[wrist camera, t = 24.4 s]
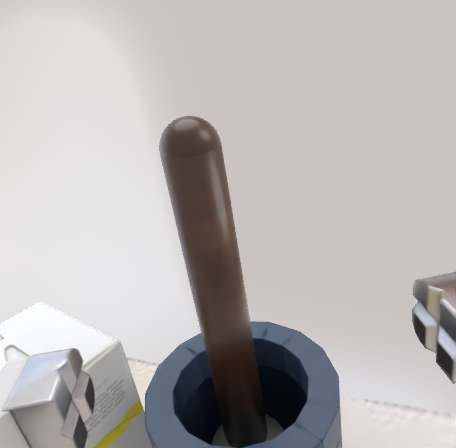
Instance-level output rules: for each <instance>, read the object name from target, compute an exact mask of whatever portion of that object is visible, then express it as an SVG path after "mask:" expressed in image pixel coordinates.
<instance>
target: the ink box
mask: <svg viewBox="0 0 456 448" xmlns="http://www.w3.org/2000/svg"><path fill="white" fill-rule="evenodd" d="M70 348H76V349H78V350H79V352H80V354H81V356H82V358H83V360H84V361H83V364H82V367H81V370H83V371H85V372H86V373H88V374H90V377H91V379H92V382H93V386H94V391H95V406H94V410H93V415H92V417H91V418H90V419H89V420H88V421H87V422H86V423H85V424H84V425H85V427H86V429H87V431H88V435H87V439H86V443H85V447H84V448H152V445H151V442H150V440H149V437H148V434H147V431H146V428H145V413H144V410H143V407H142V404H141V401H140V398H139V395H138V392H137V389H136V386H135V383H134V380H133V377H132V374H131V371H130V367H129V365H128V361H127V359H126V356H125V353H124V350H123V347H122V344H121V341H120V340H116V339H113V338H112V337H110V336H108V335H106V334H104V333H102V332H100V331H98V330H96V329H94V328H92V327H90V326H88V325H86V324H84V323H82V322H80V321H78V320H76V319H74V318H72V317H70V316H68V315H66V314H64V313H62V312H60V311H58V310H56V309H54V308H52V307H50V306H48V305H46V304H44V303H42V302H37V303H35V304H34V305H32V306H30V307H29V308H27V309H26V310H24V311H22V312H20V313H18V314H17V315H15V316H13V317H12V318H10V319H8V320H6V321H4V322H3V323H1V324H0V374H1V372H2V370H3V368H4V366H5V365H6V363H7V362H9V361H10V360H12V359H16V358H21V357H26V356H33V355H36V354H42V353H48V352H53V351H59V350H65V349H70Z"/></svg>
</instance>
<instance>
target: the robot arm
mask: <svg viewBox="0 0 456 448" xmlns="http://www.w3.org/2000/svg"><path fill="white" fill-rule="evenodd" d="M413 295H414V296H415V298H416V299H417V300H418V303H417V304H416V305H415V307H414V308H413V310H412V322H413V325H414V329H415V332H416V334H417V336H418V338H419V340H420V342H421V343H422V344H423V346H424V347H425V348H426V349H428V350H431V351H433V352H435V353H437V356H436V362H437V364H438V365H439V366H440V367H441V369H442V370H443V371H444V373H445V374H446V375H447V376H448V377H449V379H450V380H451V381H452V383H453V384H454V383H456V272H453V273H448V274H443V275H438V276H433V277H428V278H423V279H418V280H416V281H415V283H414V285H413ZM83 361H84V360H83V358H82V356H81V354H80V352H79V350H78V349H76V348H70V349H65V350H59V351H53V352H48V353H42V354H36V355H33V356H26V357H21V358H16V359H12V360H10V361H9V362H7V363H6V365H5V366H4V368H3V370H2V372H1V374H0V448H84V447H85V443H86V439H87V435H88V431H87V429H86V427H85V425H84V424H85V423H86V422H87V421H88V420H89V419H90V418H91V417H92V415H93V410H94V406H95V391H94V386H93V382H92V379H91V377H90V374H88V373H86V372H85V371H83V370H81V367H82V364H83Z"/></svg>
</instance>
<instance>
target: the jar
mask: <svg viewBox="0 0 456 448" xmlns="http://www.w3.org/2000/svg"><path fill="white" fill-rule="evenodd" d="M250 324H251V330H252V336H253V342H254V348H255V354H256V361H257V367H258V373H259V379H260V385H261V391H262V397H263V404H264V410H265V414H266V415H269V416H270V417H272V418H274V419H275V420H276V421H277V422H278V423H279V424H280V425H281V427H282V428H283V430H284V431H283V432H281V433H280V434H279V435H277V436H276V437H275V438H273V439H272V440H269V441H265V442H261V443H258V444H254V445H250V446H247V447H243V448H342V436H341V416H340V396H339V377H338V374H337V372H336V371H335V369H334V367H333V365H332V364H331V362H330V360H329V358H328V357H327V355H326V353H325V351H324V350H323V349H322V348H321V347H320V346H319V345H317V344H316V343H314V342H313V341H312V340H310V339H309V338H307V337H306V336H305V335H304V334H302V333H301V332H298V331H297V330H294V329H290V328H287V327H284V326H281V325H277V324H274V323H270V322H250ZM221 424H222V420H221V416H220V411H219V407H218V403H217V398H216V394H215V390H214V385H213V381H212V377H211V372H210V368H209V364H208V359H207V355H206V351H205V347H204V342H203V338H202V334H201V333H200V334H198V335H197V336H195V337H193V338H191V339H189V340H187V341H186V342H184V343H182V344H180V345H179V346H178V347H177V348H176V349H175V350H174V351H173V352H172V353H171V354H170V355H169V356H168V357H167V358H166V359H165V360H164V361H163V362H162V363H161V364H160V365H159V366H158V368H157V370H156V372H155V374H154V376H153V378H152V381H151V383H150V385H149V387H148V389H147V391H146V394H145V428H146V431H147V434H148V437H149V440H150V442H151V445H152V448H234V447H224V446H214V445H212V440H213V437H214V435H215V433H216V431H217V429H218V428H219V427H220V426H221Z"/></svg>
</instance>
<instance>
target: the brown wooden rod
mask: <svg viewBox="0 0 456 448" xmlns="http://www.w3.org/2000/svg"><path fill="white" fill-rule="evenodd" d="M159 150H160V156H161V160H162V165H163V169H164V173H165V178H166V182H167V186H168V190H169V195H170V199H171V203H172V208H173V212H174V216H175V221H176V225H177V229H178V234H179V238H180V242H181V247H182V251H183V255H184V259H185V264H186V269H187V272H188V277H189V281H190V286H191V290H192V294H193V299H194V303H195V307H196V312H197V316H198V321H199V325H200V329H201V334H202V338H203V342H204V347H205V351H206V355H207V359H208V364H209V368H210V372H211V377H212V381H213V385H214V390H215V394H216V398H217V403H218V407H219V411H220V416H221V420H222V424H221V426H220V427H219V428H218V429H217V431H216V433H215V435H214V437H213V440H212V445H214V446H224V447H234V448H243V447H247V446H250V445H254V444H258V443H261V442H265V441H269V440H272V439H273V438H275V437H276V436H277V435H279V434H280V433H281V432H283V431H284V430H283V428H282V427H281V425H280V424H279V423H278V422H277V421H276V420H275V419H274V418H272V417H270V416H269V415H266V414H265V410H264V404H263V397H262V391H261V385H260V379H259V373H258V367H257V361H256V354H255V348H254V342H253V336H252V330H251V324H250V318H249V312H248V305H247V300H246V293H245V287H244V281H243V275H242V269H241V263H240V257H239V250H238V245H237V238H236V232H235V226H234V220H233V214H232V208H231V201H230V195H229V189H228V183H227V177H226V171H225V165H224V158H223V153H222V146H221V142H220V138H219V135H218V134H217V131H216V130H215V129H214V127H213V126H212V125H211V124H210V123H209V122H207V121H205V120H204V119H202V118H199V117H195V116H185V117H181V118H178V119H176V120H174V121H173V122H172V123H170V124H169V125H168V126H167V127H166V128H165V130H164V132H163V133H162V136H161V139H160V145H159Z"/></svg>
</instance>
